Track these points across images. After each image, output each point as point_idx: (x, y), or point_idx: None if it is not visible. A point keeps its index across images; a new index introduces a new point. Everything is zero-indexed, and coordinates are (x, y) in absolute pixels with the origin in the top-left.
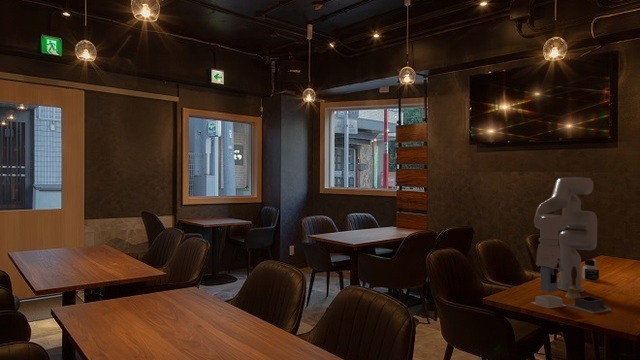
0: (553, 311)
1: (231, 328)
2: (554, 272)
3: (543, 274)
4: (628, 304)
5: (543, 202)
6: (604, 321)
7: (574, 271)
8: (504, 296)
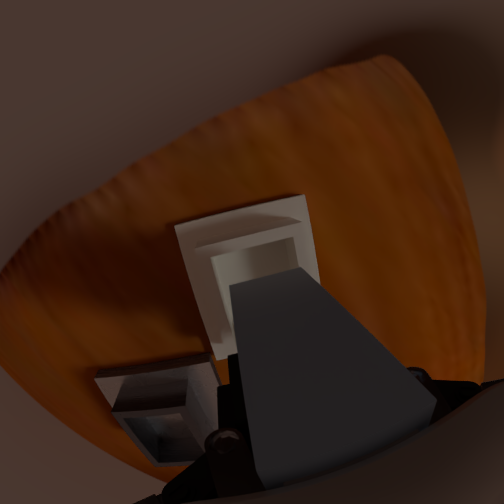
0: (153, 235)
1: None
2: (213, 465)
3: (326, 351)
4: None
5: None
6: (37, 347)
7: None
8: (433, 164)
